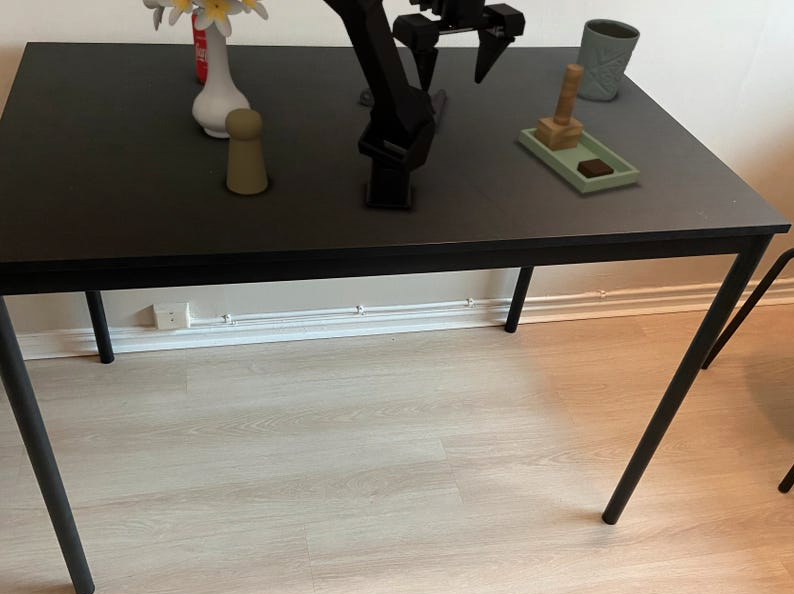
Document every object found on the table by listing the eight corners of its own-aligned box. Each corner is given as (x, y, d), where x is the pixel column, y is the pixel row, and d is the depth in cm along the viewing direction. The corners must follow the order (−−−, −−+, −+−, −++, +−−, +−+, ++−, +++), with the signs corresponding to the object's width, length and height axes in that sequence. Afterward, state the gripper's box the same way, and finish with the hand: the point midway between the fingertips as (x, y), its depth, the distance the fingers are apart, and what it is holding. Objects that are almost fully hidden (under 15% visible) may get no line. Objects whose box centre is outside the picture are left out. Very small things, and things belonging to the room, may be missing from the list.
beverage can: (232, 79, 132) (227, 11, 123) (213, 88, 128) (207, 18, 120) (210, 72, 133) (204, 4, 125) (191, 80, 130) (184, 11, 122)
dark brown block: (611, 178, 112) (614, 169, 111) (591, 182, 111) (594, 173, 110) (596, 166, 115) (598, 157, 114) (576, 170, 114) (578, 161, 112)
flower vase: (159, 117, 119) (134, -50, 102) (268, 110, 123) (262, -51, 106) (164, 154, 110) (139, -22, 93) (282, 145, 114) (278, -24, 97)
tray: (635, 185, 112) (640, 171, 111) (581, 196, 109) (585, 182, 107) (568, 134, 124) (571, 121, 122) (517, 143, 120) (520, 129, 119)
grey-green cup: (564, 79, 142) (580, 16, 134) (614, 83, 142) (633, 20, 134) (573, 101, 135) (590, 35, 126) (625, 105, 135) (646, 40, 127)
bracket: (367, 87, 133) (368, 72, 131) (445, 98, 132) (447, 83, 130) (352, 120, 123) (352, 104, 121) (436, 132, 121) (438, 117, 120)
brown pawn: (250, 198, 102) (246, 126, 95) (218, 185, 104) (211, 113, 97) (276, 182, 106) (274, 111, 98) (244, 169, 108) (240, 99, 100)
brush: (546, 152, 117) (567, 74, 108) (532, 141, 120) (551, 63, 111) (577, 147, 119) (599, 70, 110) (562, 136, 122) (583, 60, 113)
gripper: (490, -52, 101) (472, 59, 112) (376, -43, 94) (368, 74, 105) (539, -30, 94) (515, 86, 105) (420, -18, 87) (407, 105, 98)
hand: (451, 87), depth 103 cm, fingers open, 9 cm apart
